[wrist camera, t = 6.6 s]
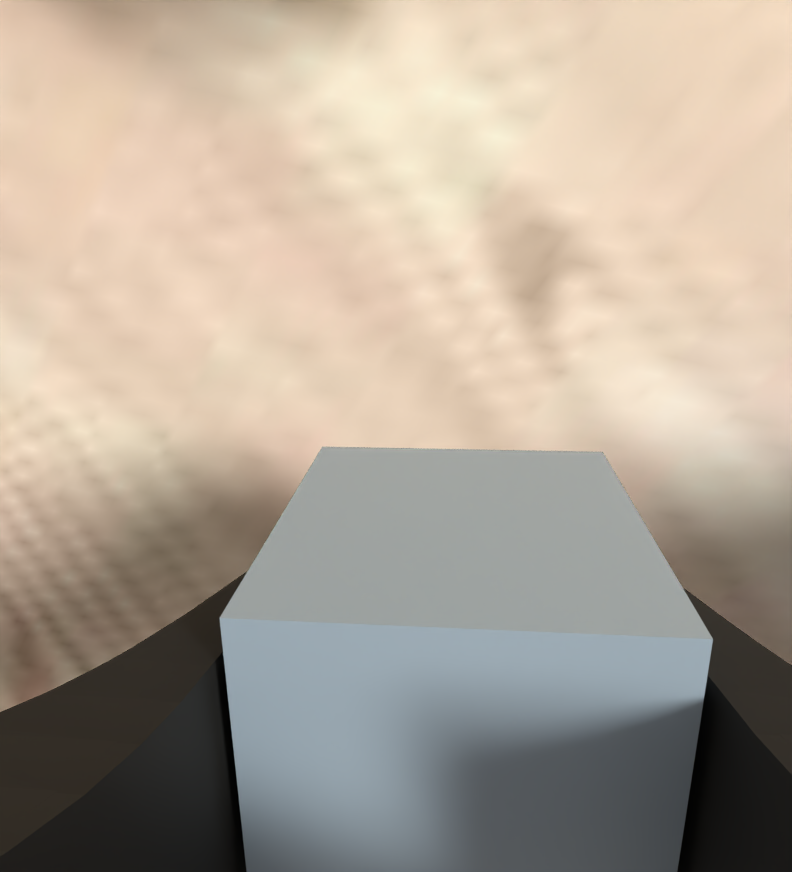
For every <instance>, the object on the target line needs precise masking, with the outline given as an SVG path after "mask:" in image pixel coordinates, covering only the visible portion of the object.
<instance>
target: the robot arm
mask: <svg viewBox="0 0 792 872" xmlns="http://www.w3.org/2000/svg"><path fill="white" fill-rule="evenodd" d="M247 572H248V571H247ZM247 572H246V573H247ZM246 573H244V574H243V575H241V576H240V577H238V578H237V579H236V580H234V581H233V582H231V583H230V584H229V585H227V586H226V587H224V588H223V589H221V590H220V591H219V592H217V593H216V594H214V595H213V596H211V597H210V598H208V599H207V600H206V601H204V602H203V603H201V604H200V605H198V606H197V607H195V608H194V609H192V610H191V611H190V612H188V613H187V614H185V615H184V616H182V617H180V618H179V619H177V620H176V621H174V622H172V623H171V624H169V625H168V626H166V627H164V628H163V629H161V630H160V631H158V632H156V633H155V634H153V635H152V636H150V637H148V638H147V639H145V640H144V641H142V642H140V643H139V644H137V645H136V646H134V647H132V648H131V649H129V650H127V651H126V652H124V653H122V654H120V655H119V656H117V657H115V658H113V659H111V660H110V661H108V662H106V663H104V664H102V665H100V666H99V667H97V668H95V669H93V670H91V671H89V672H87V673H85V674H83V675H81V676H79V677H77V678H75V679H73V680H71V681H69V682H67V683H65V684H63V685H61V686H59V687H57V688H55V689H53V690H51V691H49V692H47V693H44V694H42V695H40V696H37V697H35V698H33V699H30V700H28V701H26V702H23V703H21V704H19V705H16V706H14V707H12V708H9V709H7V710H5V711H2V712H0V872H247V871H246V861H245V852H244V843H243V833H242V824H241V815H240V805H239V796H238V787H237V777H236V768H235V759H234V749H233V740H232V730H231V721H230V712H229V702H228V693H227V684H226V674H225V665H224V656H223V646H222V637H221V628H220V616H221V615H222V613H223V611H224V610H225V608H226V606H227V605H228V603H229V601H230V600H231V598H232V596H233V595H234V593H235V592H236V590H237V588H238V587H239V585H240V583H241V582H242V580H243V578H244V577H245V575H246ZM683 589H684V588H683ZM684 591H685V593H686V594H687V596H688V598H689V599H690V601H691V603H692V604H693V606H694V608H695V609H696V611H697V613H698V615H699V616H700V618H701V620H702V621H703V623H704V625H705V626H706V628H707V630H708V632H709V633H710V635H711V637H712V638H713V643H712V649H711V656H710V662H709V669H708V675H707V682H706V688H705V695H704V701H703V708H702V714H701V721H700V727H699V734H698V740H697V747H696V753H695V760H694V766H693V773H692V779H691V786H690V792H689V799H688V805H687V812H686V818H685V825H684V831H683V838H682V844H681V851H680V857H679V864H678V870H677V872H792V665H790V664H789V663H787V662H786V661H784V660H783V659H781V658H780V657H778V656H777V655H775V654H774V653H772V652H771V651H769V650H768V649H766V648H765V647H764V646H762V645H761V644H759V643H758V642H756V641H755V640H754V639H752V638H751V637H749V636H748V635H746V634H745V633H744V632H742V631H741V630H740V629H738V628H737V627H735V626H734V625H733V624H731V623H730V622H728V621H727V620H726V619H724V618H723V617H722V616H720V615H719V614H718V613H716V612H715V611H714V610H712V609H711V608H710V607H708V606H707V605H706V604H704V603H703V602H702V601H700V600H699V599H697V598H696V597H695V596H693V595H692V594H691V593H689V592H688V591H687V590H685V589H684Z"/></svg>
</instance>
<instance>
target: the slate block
mask: <svg viewBox="0 0 792 872" xmlns="http://www.w3.org/2000/svg"><path fill="white" fill-rule="evenodd" d="M220 628H221V637H222V646H223V656H224V665H225V674H226V684H227V693H228V702H229V712H230V721H231V730H232V740H233V749H234V759H235V768H236V777H237V787H238V796H239V805H240V815H241V824H242V833H243V843H244V852H245V861H246V871H247V872H677V870H678V864H679V857H680V851H681V844H682V838H683V831H684V825H685V818H686V812H687V805H688V799H689V792H690V786H691V779H692V773H693V766H694V760H695V753H696V747H697V740H698V734H699V727H700V721H701V714H702V708H703V701H704V695H705V688H706V682H707V675H708V669H709V662H710V656H711V649H712V643H713V638H712V637H711V635H710V633H709V632H708V630H707V628H706V626H705V625H704V623H703V621H702V620H701V618H700V616H699V615H698V613H697V611H696V609H695V608H694V606H693V604H692V603H691V601H690V599H689V598H688V596H687V594H686V593H685V591H684V589H683V587H682V586H681V584H680V582H679V581H678V579H677V577H676V576H675V574H674V572H673V570H672V569H671V567H670V565H669V564H668V562H667V560H666V559H665V557H664V555H663V553H662V552H661V550H660V548H659V547H658V545H657V543H656V542H655V540H654V538H653V537H652V535H651V533H650V531H649V530H648V528H647V526H646V525H645V523H644V521H643V520H642V518H641V516H640V514H639V513H638V511H637V509H636V508H635V506H634V504H633V503H632V501H631V499H630V498H629V496H628V494H627V492H626V491H625V489H624V487H623V486H622V484H621V482H620V481H619V479H618V477H617V475H616V474H615V472H614V470H613V469H612V467H611V465H610V464H609V462H608V460H607V459H606V457H605V455H604V453H603V452H574V451H520V450H467V449H414V448H360V447H322V448H321V450H320V452H319V453H318V455H317V457H316V458H315V460H314V462H313V463H312V465H311V467H310V468H309V470H308V472H307V473H306V475H305V477H304V478H303V480H302V482H301V483H300V485H299V487H298V488H297V490H296V492H295V493H294V495H293V497H292V498H291V500H290V502H289V503H288V505H287V507H286V508H285V510H284V512H283V513H282V515H281V517H280V518H279V520H278V522H277V523H276V525H275V527H274V528H273V530H272V532H271V533H270V535H269V537H268V538H267V540H266V542H265V543H264V545H263V547H262V548H261V550H260V552H259V553H258V555H257V557H256V558H255V560H254V562H253V563H252V565H251V567H250V568H249V570H248V572H247V573H246V575H245V577H244V578H243V580H242V582H241V583H240V585H239V587H238V588H237V590H236V592H235V593H234V595H233V596H232V598H231V600H230V601H229V603H228V605H227V606H226V608H225V610H224V611H223V613H222V615H221V616H220Z"/></svg>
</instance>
